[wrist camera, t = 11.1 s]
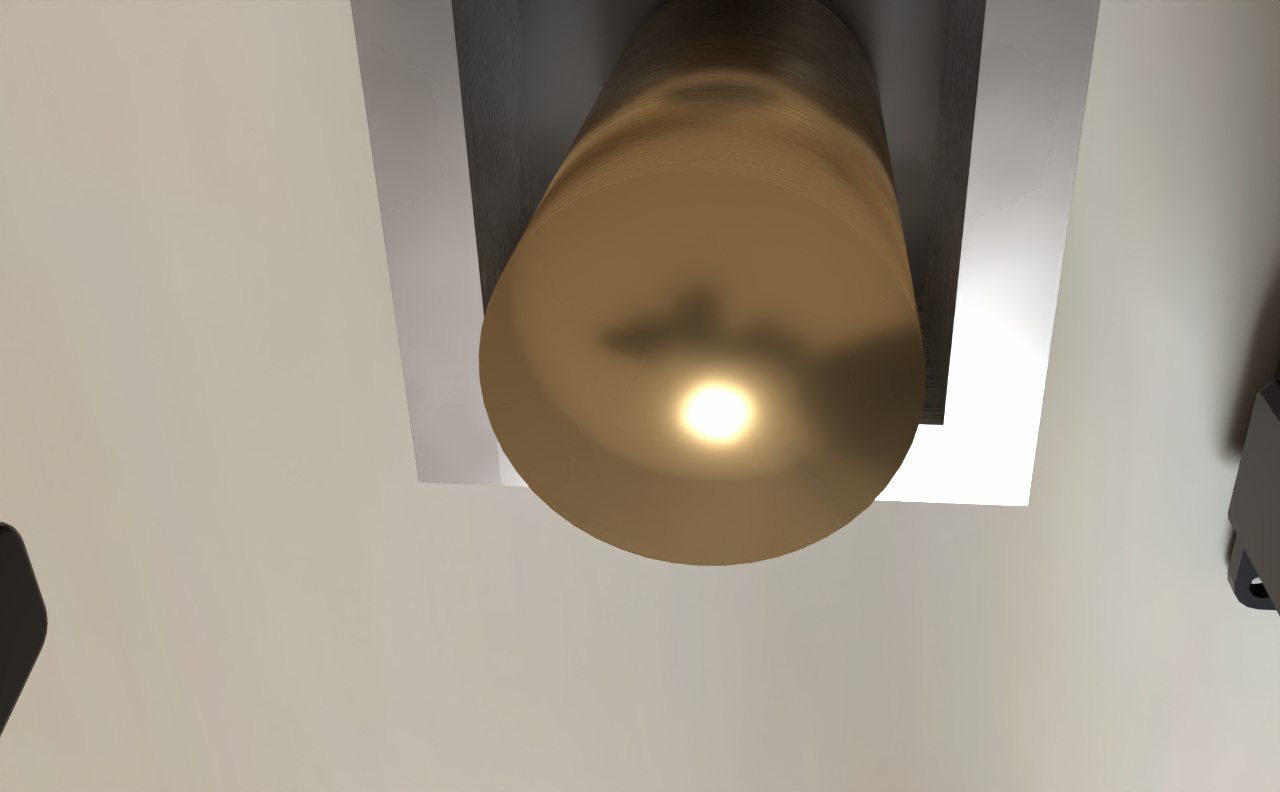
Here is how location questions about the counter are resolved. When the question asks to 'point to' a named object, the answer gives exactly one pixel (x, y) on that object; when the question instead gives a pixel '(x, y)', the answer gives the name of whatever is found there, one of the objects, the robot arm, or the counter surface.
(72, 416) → the counter surface
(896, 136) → the plate
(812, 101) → the cylinder
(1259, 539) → the robot arm
